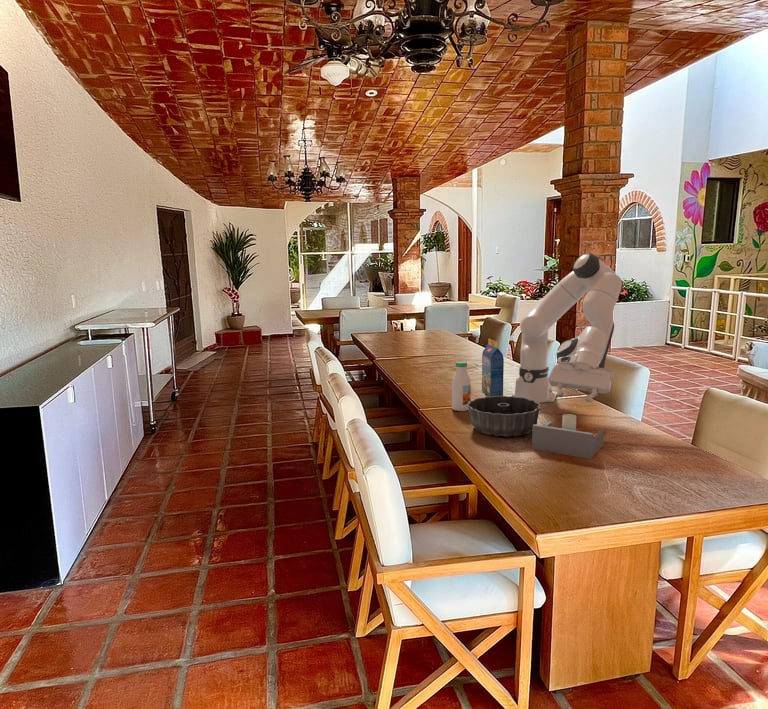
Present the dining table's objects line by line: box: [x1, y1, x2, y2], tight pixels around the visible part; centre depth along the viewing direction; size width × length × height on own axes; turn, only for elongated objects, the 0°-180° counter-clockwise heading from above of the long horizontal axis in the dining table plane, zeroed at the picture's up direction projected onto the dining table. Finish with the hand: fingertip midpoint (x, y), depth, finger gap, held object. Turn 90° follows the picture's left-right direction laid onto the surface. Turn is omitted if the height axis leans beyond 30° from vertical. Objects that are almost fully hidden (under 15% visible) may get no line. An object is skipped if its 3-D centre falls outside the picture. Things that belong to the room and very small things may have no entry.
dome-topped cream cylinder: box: [561, 413, 577, 431], centre depth 187 cm, size 4×4×8 cm
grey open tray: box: [531, 421, 605, 460], centre depth 187 cm, size 16×19×8 cm
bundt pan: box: [467, 395, 542, 438], centre depth 206 cm, size 26×26×10 cm
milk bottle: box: [451, 360, 472, 412], centre depth 233 cm, size 8×8×20 cm
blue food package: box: [481, 338, 505, 397], centre depth 257 cm, size 6×12×25 cm, turn 9°
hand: (573, 398), depth 189 cm, fingers open, 8 cm apart
